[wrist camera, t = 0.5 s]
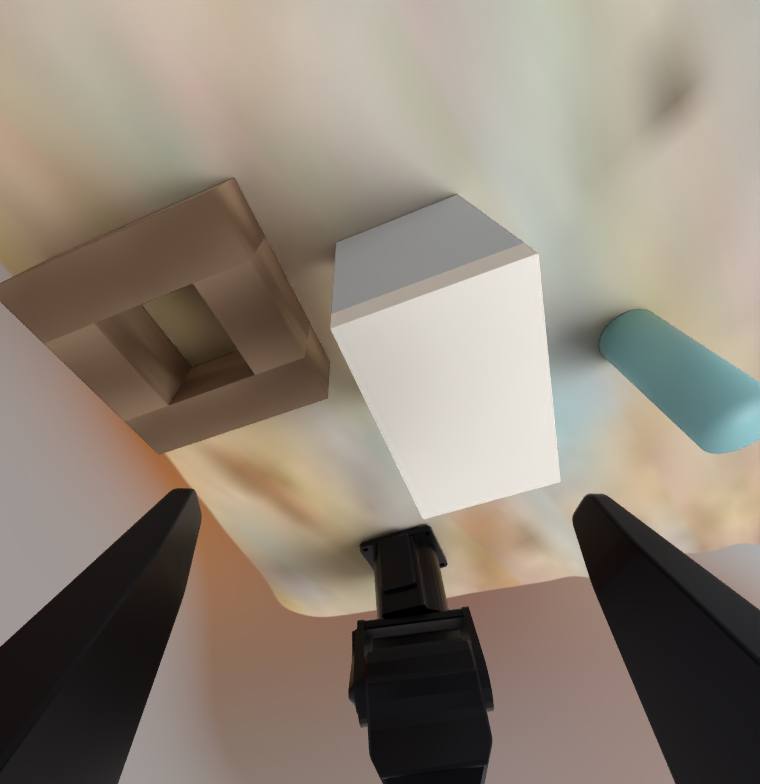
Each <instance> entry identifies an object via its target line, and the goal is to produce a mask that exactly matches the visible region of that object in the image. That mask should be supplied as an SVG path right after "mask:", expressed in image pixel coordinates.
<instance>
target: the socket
mask: <svg viewBox="0 0 760 784" xmlns="http://www.w3.org/2000/svg"><path fill="white" fill-rule="evenodd" d="M190 284H193V285H194V286H195V288H196V289H197V291H198V292H199V294H200V295H201V296H202V298H203V299H204V301H205V302H206V304H207V305H208V307H209V308H210V310H211V311H212V313H213V314H214V316H215V317H216V318H217V320H218V321H219V323H220V324H221V326H222V327H223V329H224V330H225V332H226V333H227V335H228V336H229V338H230V339H231V340H232V342H233V343H234V345H235V346H236V348H237V349H238V351H235V352H232V353H230V354H227V355H224V356H221V357H219V358H216V359H213V360H211V361H208V362H205V363H202V364H200V365H197V366H194V367H191V366H190V365H189V364H188V362H187V361H186V360H185V359H184V357H183V356H182V355H181V354H180V352H179V351H178V350H177V349H176V347H175V346H174V345H173V344H172V342H171V341H170V340H169V339H168V337H167V336H166V335H165V334H164V332H163V331H162V330H161V329H160V327H159V326H158V325H157V323H156V322H155V321H154V320H153V318H152V317H151V316H150V315H149V313H148V312H147V311H146V310H145V308H144V307H143V306H142V305H141V304H143V303H146V302H148V301H151V300H153V299H156V298H158V297H161V296H163V295H166V294H168V293H171V292H173V291H175V290H178V289H180V288H183V287H185V286H188V285H190ZM0 302H1V303H2V304H3V305H4V306H5V307H6V308H7V309H9V311H10V312H12V314H14V315H15V316H16V317H17V318H18V319H19V320H20V321H21V322H22V323H23V324H24V325H25V326H26V327H27V328H28V329H29V330H30V331H31V332H32V333H33V334H34V335H35V336H36V337H37V338H38V339H39V340H41V341H42V342H43V343H44V344H45V345H46V346H47V347H48V348H49V349H50V350H51V351H52V352H53V353H54V354H55V355H56V356H57V357H58V358H59V359H61V361H62V362H63V363H64V364H66V366H67V367H69V369H71V370H72V371H73V372H74V373H75V374H76V375H77V376H78V377H79V378H80V379H81V380H82V381H83V382H84V383H85V384H86V385H87V386H88V387H89V388H90V389H91V390H92V391H93V392H94V393H95V394H96V395H97V396H99V397H100V398H101V399H102V400H103V401H104V402H105V403H106V404H107V405H108V406H109V407H110V408H111V409H112V410H113V411H114V412H115V413H116V414H117V415H118V416H119V417H120V418H121V419H122V420H124V422H125V423H126V424H128V425H129V426H130V427H131V428H132V429H133V430H134V431H135V432H136V433H137V434H138V435H139V436H140V437H141V438H142V439H143V440H144V441H145V442H146V443H147V444H148V445H149V446H150V447H151V448H152V449H153V450H154V451H155V452H156V453H158V454H162V453H165V452H168V451H171V450H174V449H177V448H180V447H183V446H186V445H189V444H192V443H195V442H198V441H201V440H204V439H207V438H210V437H213V436H216V435H219V434H222V433H225V432H228V431H231V430H234V429H237V428H240V427H243V426H246V425H249V424H252V423H255V422H258V421H261V420H264V419H267V418H270V417H273V416H276V415H279V414H282V413H285V412H288V411H291V410H294V409H297V408H300V407H303V406H306V405H309V404H312V403H315V402H318V401H321V400H324V399H327V398H328V385H329V369H330V361H329V359H328V357H327V355H326V353H325V351H324V349H323V347H322V346H321V344H320V342H319V340H318V338H317V336H316V334H315V332H314V330H313V328H312V326H311V324H310V322H309V320H308V319H307V317H306V315H305V313H304V311H303V309H302V307H301V305H300V303H299V301H298V299H297V297H296V295H295V294H294V292H293V290H292V288H291V286H290V284H289V282H288V280H287V278H286V276H285V274H284V272H283V270H282V268H281V267H280V265H279V263H278V261H277V259H276V257H275V255H274V253H273V251H272V249H271V247H270V245H269V243H268V242H267V240H266V238H265V236H264V234H263V232H262V230H261V228H260V226H259V224H258V222H257V220H256V218H255V216H254V215H253V213H252V211H251V209H250V207H249V205H248V203H247V201H246V199H245V197H244V195H243V193H242V191H241V190H240V188H239V186H238V184H237V182H236V180H235V178H232V179H230V180H227V181H225V182H223V183H220V184H218V185H216V186H214V187H211V188H209V189H207V190H205V191H202V192H200V193H198V194H196V195H193V196H191V197H189V198H187V199H184V200H182V201H180V202H177V203H175V204H173V205H171V206H168V207H166V208H164V209H162V210H159V211H157V212H155V213H153V214H150V215H148V216H146V217H144V218H141V219H139V220H137V221H135V222H132V223H130V224H128V225H125V226H123V227H121V228H119V229H116V230H114V231H112V232H110V233H107V234H105V235H103V236H101V237H98V238H96V239H94V240H92V241H89V242H87V243H85V244H82V245H80V246H78V247H76V248H73V249H71V250H69V251H67V252H64V253H62V254H60V255H58V256H55V257H53V258H51V259H49V260H46V261H44V262H42V263H40V264H38V265H36V266H34V267H32V268H30V269H28V270H26V271H24V272H22V273H20V274H18V275H16V276H14V277H12V278H10V279H8V280H6V281H4V282H2V283H0Z"/></svg>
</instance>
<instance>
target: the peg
mask: <svg viewBox="0 0 760 784" xmlns="http://www.w3.org/2000/svg"><path fill="white" fill-rule="evenodd" d="M599 349H600V352H601V354H602V355H603V356H604V357H605V358H606V359H607V360H608V361H609V362H610V363H611V364H612V365H613V366H614V367H615V368H617V369H618V370H619V371H620V372H621V373H622V374H623V375H624V376H625V377H626V378H627V379H628V380H629V381H630V382H631V383H632V384H633V385H635V386H636V387H637V388H638V389H639V390H640V391H641V392H642V393H643V394H644V395H645V396H646V397H647V398H648V399H649V400H650V401H651V402H653V403H654V404H655V405H656V406H657V407H658V408H659V409H660V410H661V411H662V412H663V413H664V414H665V415H666V416H667V417H668V418H669V419H671V420H672V421H673V422H674V423H675V424H676V425H677V426H678V427H679V428H680V429H681V430H682V431H683V432H684V433H685V434H686V435H687V436H689V437H690V438H691V439H692V440H693V441H694V442H695V443H696V444H697V445H698V446H699V447H700V448H701V449H702V450H704V451H706V452H709V453H714V454H720V453H728V452H732V451H736V450H739V449H741V448H744V447H746V446H749V445H751V444H753V443H754V442H756V441H758V440H759V439H760V382H758V381H757V380H755V379H754V378H752V377H751V376H749V375H748V374H746V373H744V372H743V371H741V370H740V369H738V368H737V367H735V366H734V365H732V364H731V363H729V362H728V361H726V360H725V359H723V358H721V357H720V356H718V355H717V354H715V353H714V352H712V351H711V350H709V349H708V348H706V347H705V346H703V345H702V344H700V343H698V342H697V341H695V340H694V339H692V338H691V337H689V336H688V335H686V334H685V333H683V332H682V331H680V330H678V329H677V328H675V327H674V326H672V325H671V324H669V323H668V322H666V321H665V320H663V319H662V318H660V317H659V316H657V315H655V314H654V313H652V312H651V311H648V310H644V309H637V310H632V311H629V312H626V313H624V314H622V315H620V316H619V317H617V318H616V319H614V320H613V321H612V322H611V323H610V324H609V325H608V326H607V327H606V328H605V330H604V331H603V333H602V335H601V338H600V341H599Z"/></svg>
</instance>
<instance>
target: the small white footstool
mask: <svg viewBox="0 0 760 784" xmlns="http://www.w3.org/2000/svg"><path fill="white" fill-rule="evenodd" d="M330 329H331V331H332V334H333V336H334V338H335V340H336V342H337V344H338V346H339V348H340V350H341V352H342V354H343V356H344V358H345V360H346V362H347V364H348V366H349V368H350V370H351V372H352V375H353V377H354V379H355V381H356V383H357V385H358V387H359V389H360V391H361V393H362V395H363V397H364V399H365V401H366V403H367V405H368V407H369V409H370V411H371V413H372V416H373V418H374V420H375V422H376V424H377V426H378V428H379V430H380V432H381V434H382V436H383V438H384V440H385V442H386V444H387V446H388V448H389V450H390V452H391V454H392V457H393V459H394V461H395V463H396V465H397V467H398V469H399V471H400V473H401V475H402V477H403V479H404V481H405V483H406V485H407V487H408V489H409V491H410V493H411V496H412V498H413V500H414V502H415V504H416V506H417V508H418V510H419V512H420V514H421V516H422V518H423V519H427V518H431V517H434V516H438V515H442V514H445V513H449V512H453V511H456V510H460V509H463V508H467V507H471V506H474V505H478V504H482V503H485V502H489V501H493V500H496V499H500V498H504V497H507V496H511V495H515V494H518V493H522V492H526V491H529V490H533V489H536V488H540V487H544V486H547V485H551V484H555V483H558V482H560V471H559V461H558V450H557V440H556V430H555V419H554V409H553V399H552V388H551V378H550V367H549V357H548V347H547V336H546V326H545V315H544V305H543V295H542V284H541V274H540V263H539V253H538V252H536V251H535V250H533V249H532V248H531V247H529V246H528V245H527V244H525V243H524V242H522V241H521V240H520V239H518V238H517V237H516V236H514V235H513V234H512V233H510V232H509V231H507V230H506V229H505V228H503V227H502V226H501V225H499V224H498V223H497V222H495V221H494V220H492V219H491V218H490V217H488V216H487V215H486V214H484V213H483V212H482V211H480V210H479V209H477V208H476V207H475V206H473V205H472V204H471V203H469V202H468V201H466V200H465V199H464V198H462V197H461V196H460V195H458V194H457V195H455V196H452V197H450V198H447V199H445V200H442V201H439V202H437V203H434V204H432V205H429V206H427V207H424V208H422V209H419V210H417V211H414V212H412V213H409V214H407V215H404V216H402V217H399V218H397V219H394V220H392V221H389V222H387V223H384V224H382V225H379V226H377V227H374V228H371V229H369V230H366V231H364V232H361V233H359V234H356V235H354V236H351V237H349V238H346V239H344V240H341V241H339V242H336V253H335V268H334V282H333V296H332V310H331V325H330Z"/></svg>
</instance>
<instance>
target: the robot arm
mask: <svg viewBox="0 0 760 784" xmlns="http://www.w3.org/2000/svg"><path fill="white" fill-rule="evenodd" d="M201 517H202V515H201V509H200V506H199V502H198V498H197V494H196V491H195V490H194V489H190V488H186V489H185V488H177V489H173V490H172V491H170V492H169V493H168V494H167V495H166V496H165V497H164V498H162V499H161V500H160V501H159V502H158V503H157V504H156V505H155V506H154V507H153V508H152V509H151V510H149V511H148V512H147V513H146V514H145V515H144V516H143V517H142V518H141V519H140V520H138V521H137V522H136V523H135V524H134V525H133V526H132V527H131V528H130V529H129V530H127V531H126V532H125V533H124V534H123V535H122V536H121V537H120V538H119V539H118V540H117V541H116V542H114V543H113V544H112V545H111V546H110V547H109V548H108V549H107V550H106V551H105V552H103V553H102V554H101V555H100V556H99V557H98V558H97V559H96V560H95V561H94V562H93V563H92V564H90V565H89V566H88V567H87V568H86V569H85V570H84V571H83V572H82V573H81V574H79V575H78V576H77V577H76V578H75V579H74V580H73V581H72V582H71V583H70V584H69V585H67V587H65V588H64V589H63V590H62V591H61V592H60V593H59V594H58V595H56V596H55V597H54V598H53V599H52V600H51V601H50V602H49V603H48V604H47V605H46V606H44V608H42V609H41V610H40V611H39V612H38V613H37V614H36V615H35V616H34V617H32V618H31V619H30V620H29V621H28V622H27V623H26V624H25V625H24V626H23V627H22V628H20V629H19V630H18V631H17V632H16V633H15V634H14V635H13V636H12V637H11V638H10V639H8V640H7V641H6V642H5V643H4V644H3V645H2V646H1V647H0V784H118V782H119V779H120V776H121V773H122V771H123V768H124V765H125V762H126V759H127V756H128V753H129V751H130V748H131V745H132V742H133V739H134V736H135V734H136V731H137V728H138V725H139V722H140V719H141V716H142V713H143V710H144V708H145V705H146V702H147V699H148V697H149V694H150V691H151V688H152V685H153V682H154V679H155V677H156V674H157V671H158V668H159V665H160V662H161V659H162V657H163V654H164V651H165V648H166V645H167V642H168V640H169V637H170V634H171V631H172V628H173V625H174V622H175V619H176V616H177V614H178V611H179V608H180V605H181V602H182V599H183V596H184V592H185V588H186V585H187V580H188V576H189V572H190V568H191V563H192V558H193V554H194V550H195V546H196V542H197V537H198V533H199V529H200V525H201ZM572 521H573V526H574V529H575V533H576V536H577V539H578V542H579V545H580V549H581V552H582V555H583V558H584V561H585V564H586V568H587V571H588V574H589V577H590V580H591V583H592V586H593V588H594V591H595V594H596V596H597V598H598V601H599V603H600V606H601V608H602V610H603V613H604V615H605V617H606V620H607V622H608V625H609V626H610V629H611V632H612V634H613V636H614V639H615V641H616V644H617V646H618V648H619V651H620V653H621V655H622V658H623V660H624V662H625V665H626V667H627V670H628V672H629V674H630V677H631V679H632V682H633V684H634V686H635V689H636V691H637V693H638V696H639V698H640V701H641V703H642V705H643V708H644V710H645V712H646V715H647V717H648V720H649V722H650V724H651V727H652V729H653V732H654V734H655V736H656V739H657V741H658V743H659V746H660V748H661V751H662V753H663V755H664V758H665V760H666V762H667V765H668V767H669V770H670V772H671V774H672V777H673V779H674V781H675V784H760V610H759V609H758V608H756V607H755V606H754V605H752V604H751V603H750V602H748V601H747V600H746V599H744V598H743V597H742V596H740V595H739V594H738V593H736V592H735V591H734V590H732V589H731V588H730V587H728V586H727V585H726V584H724V583H723V582H722V581H720V580H719V579H718V578H716V577H715V576H714V575H712V574H711V573H710V572H708V571H707V570H706V569H704V568H703V567H702V566H700V565H699V564H698V563H696V562H695V561H694V560H692V559H691V558H690V557H688V556H687V555H686V554H684V553H683V552H682V551H680V550H679V549H678V548H676V547H675V546H674V545H672V544H671V543H670V542H668V541H667V540H666V539H664V538H663V537H662V536H660V535H659V534H658V533H656V532H655V531H654V530H652V529H651V528H650V527H648V526H647V525H646V524H644V523H643V522H642V521H640V520H639V519H638V518H636V517H635V516H634V515H632V514H631V513H630V512H628V511H627V510H626V509H624V508H623V507H622V506H620V505H619V504H618V503H616V502H615V501H614V500H612V499H611V498H610V497H608V496H607V495H604V494H587V495H585V497H584V498H583V499H582V501H581V503H580V504H579V506H578V507H577V509H576V511H575V512H574V514H573V519H572ZM360 552H361V553H362V554H363V556H364V557H365V558H366V560H367V561H368V563H369V564H370V565H371V567H372V568H373V569H374V575H375V591H376V607H377V619H376V620H369V621H365V620H358V621H357V629H356V630H355V631H353V632H352V665H351V673H350V682H349V700H350V701H351V702H352V703H353V704H354V705H355V706H356V712H357V714H358V718H359V723H360V726H361V728H364V727H368V740H369V753H370V757H371V760H372V762H373V764H374V766H375V768H376V770H377V773H378V774H379V777H380V778H381V780H382V783H383V784H484V783H485V778H486V772H487V768H488V763H489V757H490V753H491V747H492V734H491V730H490V725H489V720H488V716H487V712H490V711H493V709H494V704H493V695H492V689H491V684H490V679H489V675H488V670H487V667H486V662H485V659H484V656H483V653H482V649H481V646H480V643H479V639H478V636H477V633H476V630H475V626H474V623H473V620H472V617H471V613H470V610H469V607H462V608H461V609H454V610H449V609H448V604H447V600H446V595H445V590H444V585H443V580H442V576H441V571H440V568H443V567H446V566H447V560H446V557H445V555H444V553H443V551H442V549H441V547H440V545H439V543H438V541H437V538H436V536H435V534H434V532H433V530H432V528H431V527H430V526H423V527H419V528H416V529H412V530H408V531H404V532H401V533H397V534H393V535H390V536H386V537H382V538H379V539H375V540H371V541H368V542H364V543H361V544H360Z"/></svg>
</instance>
